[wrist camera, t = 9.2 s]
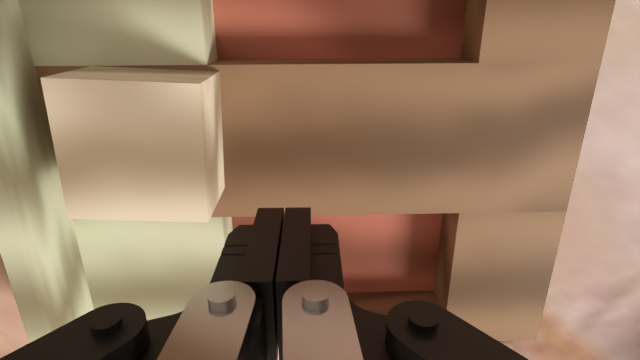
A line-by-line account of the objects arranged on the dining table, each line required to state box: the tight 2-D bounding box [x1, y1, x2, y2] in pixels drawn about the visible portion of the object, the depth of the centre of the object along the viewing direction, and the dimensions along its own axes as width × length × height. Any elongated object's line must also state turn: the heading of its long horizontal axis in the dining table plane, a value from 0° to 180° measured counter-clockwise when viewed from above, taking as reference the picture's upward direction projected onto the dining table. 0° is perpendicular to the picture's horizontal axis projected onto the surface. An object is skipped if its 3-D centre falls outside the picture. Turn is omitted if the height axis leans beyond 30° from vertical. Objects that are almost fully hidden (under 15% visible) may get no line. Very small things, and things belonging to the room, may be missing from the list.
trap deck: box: [0, 0, 616, 343], centre depth 21 cm, size 26×28×7 cm
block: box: [40, 66, 225, 223], centre depth 19 cm, size 6×6×4 cm
